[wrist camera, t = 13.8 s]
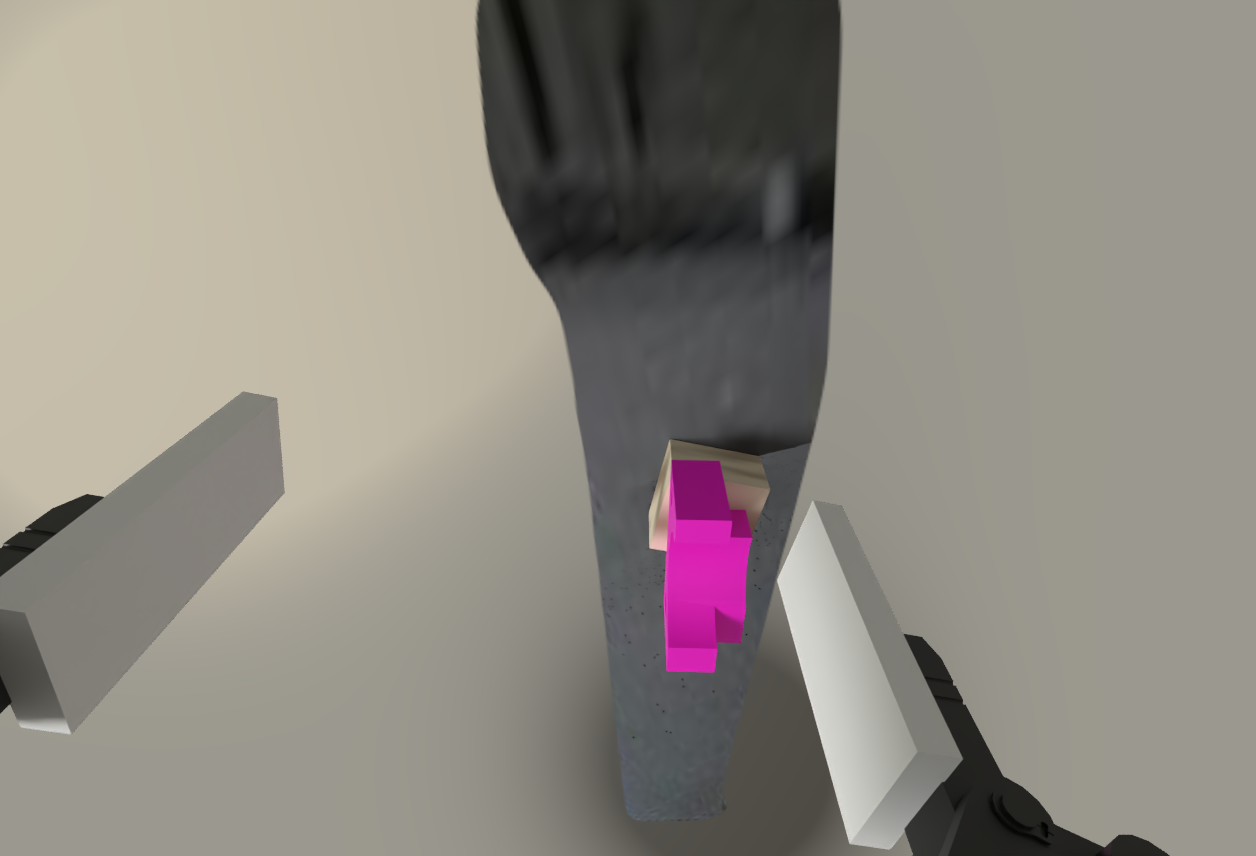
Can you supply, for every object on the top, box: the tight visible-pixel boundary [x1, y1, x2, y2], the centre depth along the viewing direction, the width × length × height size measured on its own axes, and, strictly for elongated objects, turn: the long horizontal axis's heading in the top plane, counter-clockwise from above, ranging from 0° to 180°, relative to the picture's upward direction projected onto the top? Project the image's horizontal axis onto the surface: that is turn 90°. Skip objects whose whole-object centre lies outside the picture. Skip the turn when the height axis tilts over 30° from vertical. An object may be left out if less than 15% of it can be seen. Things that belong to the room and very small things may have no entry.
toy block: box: [664, 460, 753, 672], centre depth 48 cm, size 15×6×8 cm, turn 179°
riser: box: [649, 439, 770, 551], centre depth 52 cm, size 8×8×5 cm
